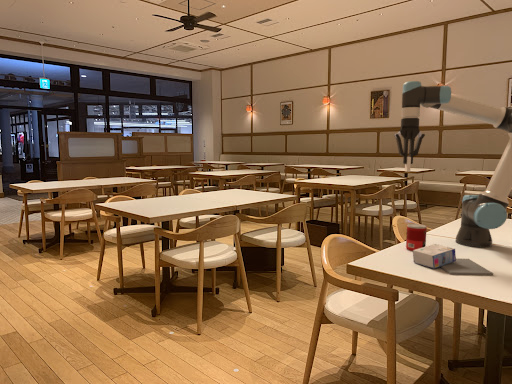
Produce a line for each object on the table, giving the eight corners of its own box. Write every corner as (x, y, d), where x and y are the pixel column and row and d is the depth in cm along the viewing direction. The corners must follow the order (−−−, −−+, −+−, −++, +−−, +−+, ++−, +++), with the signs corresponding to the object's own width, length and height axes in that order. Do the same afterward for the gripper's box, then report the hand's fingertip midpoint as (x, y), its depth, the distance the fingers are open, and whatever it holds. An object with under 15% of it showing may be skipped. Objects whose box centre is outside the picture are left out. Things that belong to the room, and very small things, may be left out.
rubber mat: (468, 260, 158) (468, 258, 158) (493, 275, 140) (493, 273, 140) (430, 259, 159) (430, 258, 159) (450, 274, 141) (450, 272, 141)
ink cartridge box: (434, 270, 146) (460, 260, 152) (433, 255, 145) (459, 246, 151) (413, 263, 155) (438, 254, 161) (412, 250, 154) (438, 241, 160)
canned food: (427, 252, 170) (428, 227, 168) (407, 251, 171) (408, 226, 170) (423, 248, 177) (424, 224, 176) (404, 247, 179) (405, 223, 177)
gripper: (422, 118, 176) (419, 171, 179) (392, 118, 177) (390, 170, 180) (428, 117, 169) (425, 172, 172) (397, 117, 170) (395, 171, 172)
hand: (407, 171), depth 176 cm, fingers closed
